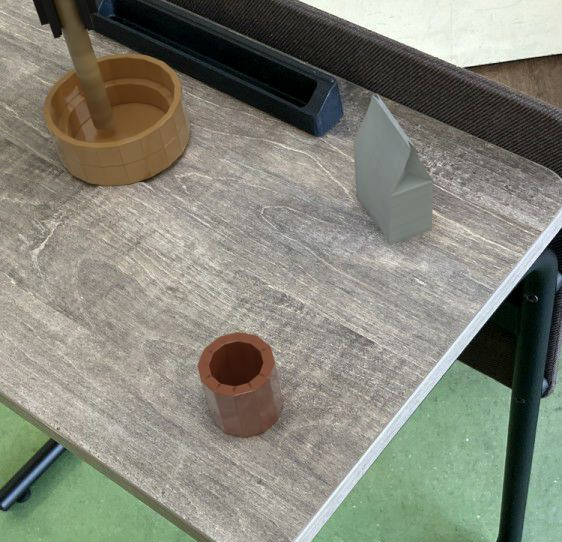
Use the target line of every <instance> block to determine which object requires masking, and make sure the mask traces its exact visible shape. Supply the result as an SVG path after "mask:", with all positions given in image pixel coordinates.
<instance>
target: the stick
mask: <svg viewBox="0 0 562 542" xmlns="http://www.w3.org/2000/svg"><path fill="white" fill-rule="evenodd" d="M52 1H53V4H54V7H55V10H56V13H57V16H58V19H59V22H60V25H61V28H62V34H63V35H62V36H63V39H64V42H65V45H66V48H67V50H68V53H69V56H70V59H71V62H72V65H73V69H74V68H75V71H76V74H77V77H78V80H79V83H80V86H81V89H82V92H83V95H84V98H85V101H86V104H87V107H88V110H89V113H90V116H91V119H92V122H93V125H94V127H95V128H97V129H99V130H105V129H108V128H110V127H112V126H113V125H114V123H115V118H114V115H113V111H112V108H111V105H110V102H109V98H108V95H107V92H106V89H105V85H104V82H103V79H102V76H101V73H100V69H99V66H98V63H97V60H96V59H97V57H96V52H95V51H94V47H93V44H92V41H91V37H90V34H89V31H88V29H86V30H85V28H84V25H83V22H82V18H81V15H80V12H79V9H78V6H77V2H76V0H52Z"/></svg>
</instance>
